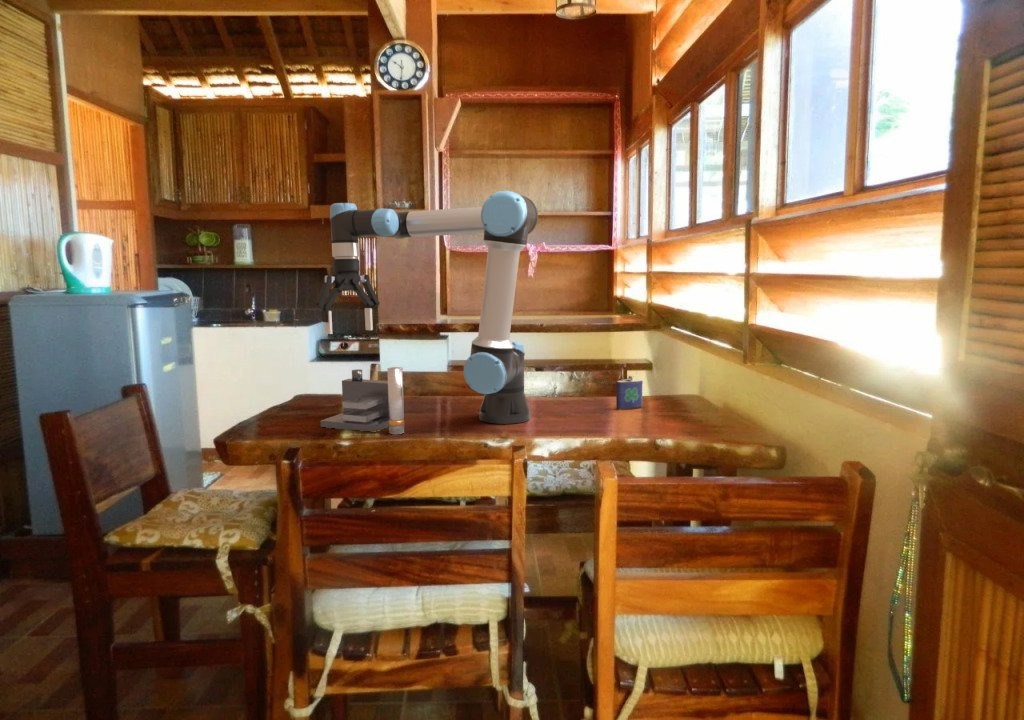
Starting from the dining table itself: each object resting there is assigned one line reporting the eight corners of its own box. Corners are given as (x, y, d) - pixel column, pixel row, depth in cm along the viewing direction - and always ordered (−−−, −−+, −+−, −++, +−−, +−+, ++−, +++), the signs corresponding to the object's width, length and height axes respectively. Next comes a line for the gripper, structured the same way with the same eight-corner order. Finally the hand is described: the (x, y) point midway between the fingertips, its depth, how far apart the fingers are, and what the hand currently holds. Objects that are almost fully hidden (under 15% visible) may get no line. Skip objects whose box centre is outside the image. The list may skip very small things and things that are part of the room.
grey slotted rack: (401, 421, 200) (400, 371, 198) (375, 432, 187) (374, 378, 185) (349, 417, 206) (347, 368, 204) (320, 427, 193) (318, 375, 191)
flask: (639, 406, 220) (640, 373, 219) (644, 408, 217) (645, 374, 216) (614, 408, 217) (615, 375, 215) (619, 410, 214) (619, 376, 212)
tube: (407, 432, 187) (405, 367, 184) (399, 436, 183) (397, 369, 181) (394, 431, 188) (392, 366, 186) (386, 434, 184) (384, 368, 182)
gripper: (374, 258, 208) (377, 328, 211) (299, 258, 190) (304, 334, 193) (389, 257, 203) (392, 329, 205) (313, 258, 185) (317, 336, 188)
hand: (349, 332), depth 199 cm, fingers open, 13 cm apart
